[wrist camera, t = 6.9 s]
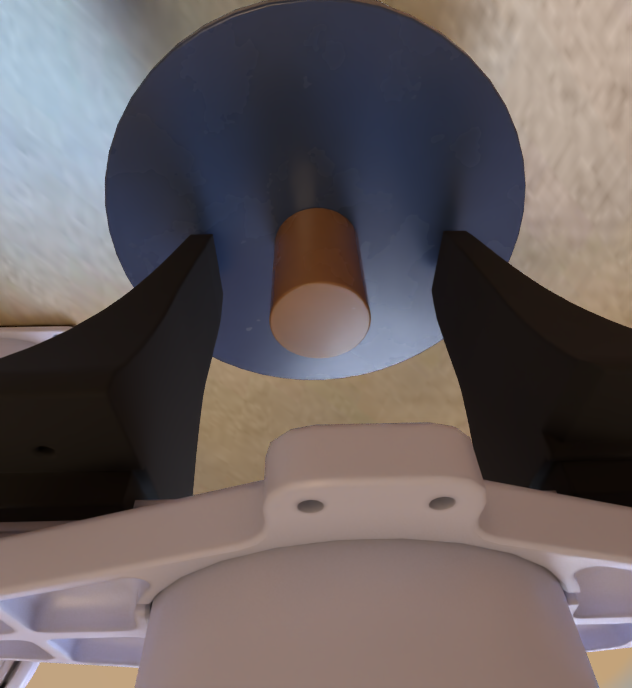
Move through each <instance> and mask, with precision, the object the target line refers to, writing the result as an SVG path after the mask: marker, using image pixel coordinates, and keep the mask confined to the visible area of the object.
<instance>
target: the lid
mask: <svg viewBox="0 0 632 688" xmlns="http://www.w3.org/2000/svg"><path fill="white" fill-rule="evenodd" d="M525 186H526V185H525V172H524V159H523V155H522V151H521V147H520V142H519V138H518V134H517V131H516V128H515V126H514V124H513V121H512V119H511V116H510V114H509V112H508V109H507V107H506V105H505V103H504V102H503V100H502V98H501V97H500V95H499V94H498V92H497V90H496V89H495V87H494V85H493V84H492V82H491V81H490V79H489V78H488V77H487V76H486V75H485V74H484V73H483V71H482V70H481V69H480V68H479V67H478V66H477V65H476V63H475V62H474V61H473V60H472V59H471V58H470V57H469V56H468V55H467V54H466V53H465V52H464V51H463V50H462V49H461V48H459V47H458V46H457V45H456V44H454V43H453V42H452V41H451V40H450V39H448V38H447V37H446V36H445V35H443V34H442V33H441V32H440V31H438V30H436V29H435V28H433V27H431V26H429V25H428V24H426V23H424V22H422V21H421V20H419V19H417V18H415V17H414V16H412V15H410V14H407V13H405V12H402V11H399V10H397V9H394V8H391V7H388V6H386V5H383V4H380V3H378V2H373V1H368V0H266V1H262V2H259V3H256V4H252V5H249V6H246V7H242V8H239V9H236V10H234V11H232V12H230V13H228V14H226V15H223V16H221V17H219V18H217V19H215V20H213V21H211V22H209V23H207V24H205V25H203V26H202V27H201V28H199V29H198V30H196V31H195V32H194V33H192V34H191V35H189V36H188V37H186V38H185V39H184V40H182V41H181V42H179V43H178V44H177V45H176V46H175V47H174V48H173V49H172V50H171V51H170V52H169V53H168V54H167V55H165V56H164V57H163V58H162V59H161V60H160V61H159V62H158V63H157V64H156V65H155V66H154V67H153V69H152V70H151V71H150V72H149V74H148V75H147V76H146V78H145V79H144V80H143V82H142V83H141V85H140V86H139V87H138V89H137V90H136V91H135V93H134V94H133V96H132V97H131V99H130V101H129V103H128V105H127V107H126V109H125V111H124V113H123V115H122V117H121V119H120V121H119V123H118V125H117V128H116V131H115V134H114V138H113V141H112V144H111V147H110V150H109V155H108V162H107V169H106V176H105V207H106V213H107V219H108V226H109V231H110V235H111V238H112V241H113V244H114V248H115V251H116V254H117V256H118V258H119V261H120V263H121V265H122V267H123V269H124V271H125V274H126V276H127V277H128V279H129V280H130V282H131V284H132V285H133V287H136V286H137V285H138V284H139V283H140V282H141V281H143V280H144V279H145V278H146V277H147V276H148V275H150V274H151V273H152V272H153V271H154V270H155V269H156V268H157V267H158V266H159V265H160V264H162V263H163V262H164V261H165V260H166V259H167V258H168V257H169V256H170V255H171V254H172V253H173V252H174V251H175V250H176V249H177V248H178V247H179V246H180V245H181V244H182V243H183V242H184V241H185V240H186V239H187V238H188V237H189V236H190V235H197V234H213V238H214V244H215V250H216V255H217V261H218V267H219V273H220V278H221V284H222V290H223V301H222V312H221V321H220V326H219V331H218V335H217V339H216V343H215V347H214V351H213V355H212V357H214V358H216V359H218V360H220V361H222V362H225V363H228V364H230V365H233V366H236V367H238V368H241V369H244V370H248V371H251V372H255V373H259V374H263V375H268V376H274V377H279V378H288V379H299V380H325V379H337V378H345V377H351V376H357V375H363V374H366V373H370V372H374V371H377V370H381V369H384V368H387V367H390V366H392V365H395V364H398V363H400V362H403V361H405V360H407V359H409V358H411V357H413V356H415V355H417V354H420V353H421V352H423V351H425V350H426V349H428V348H430V347H431V346H433V345H435V344H436V343H438V342H440V341H441V340H442V339H443V336H442V333H441V330H440V327H439V324H438V321H437V318H436V313H435V308H434V303H433V297H432V291H431V289H432V285H433V280H434V275H435V270H436V265H437V260H438V256H439V251H440V246H441V241H442V236H443V231H467V232H468V233H470V234H471V235H473V236H474V237H476V238H477V239H478V240H479V241H481V242H482V243H483V244H485V245H486V246H487V247H488V248H490V249H491V250H492V251H493V252H495V253H496V254H497V255H499V256H500V257H501V258H502V259H504V260H505V261H506V262H508V261H509V260H510V257H511V255H512V252H513V249H514V246H515V244H516V241H517V238H518V235H519V230H520V226H521V221H522V217H523V212H524V200H525Z"/></svg>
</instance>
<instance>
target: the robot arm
mask: <svg viewBox="0 0 632 688" xmlns="http://www.w3.org/2000/svg"><path fill="white" fill-rule="evenodd" d="M431 291H432V297H433V303H434V308H435V313H436V318H437V321H438V324H439V327H440V330H441V333H442V336H443V339H444V342H445V345H446V347H447V350H448V353H449V356H450V359H451V361H452V364H453V367H454V370H455V373H456V375H457V378H458V381H459V385H460V388H461V392H462V396H463V400H464V405H465V409H466V414H467V418H468V423H469V428H470V433H471V438H472V442H471V439H470V438H469V437H468V436H467V435H465V434H464V433H463V432H461V431H460V430H458V429H457V428H456V427H453V426H448V425H442V424H435V423H383V424H335V425H312V426H306V427H301V428H295V429H291V430H289V431H287V432H286V433H284V434H283V435H281V436H280V437H278V438H277V439H275V440H274V441H272V442H271V443H270V446H269V448H268V451H267V454H266V459H265V475H264V480H261V481H257V482H252V483H248V484H243V485H239V486H234V487H229V488H225V489H220V490H216V491H211V492H207V493H202V494H198V495H193V485H194V473H195V462H196V452H197V442H198V433H199V424H200V416H201V408H202V400H203V394H204V389H205V383H206V379H207V375H208V371H209V367H210V363H211V359H212V355H213V351H214V347H215V343H216V339H217V335H218V331H219V326H220V321H221V312H222V301H223V290H222V284H221V278H220V273H219V267H218V261H217V255H216V250H215V244H214V238H213V234H197V235H190V236H189V237H188V238H187V239H186V240H185V241H184V242H183V243H182V244H181V245H180V246H179V247H178V248H177V249H176V250H175V251H174V252H173V253H172V254H171V255H170V256H169V257H168V258H167V259H166V260H165V261H164V262H163V263H162V264H160V265H159V266H158V267H157V268H156V269H155V270H154V271H153V272H152V273H151V274H150V275H148V276H147V277H146V278H145V279H144V280H143V281H141V282H140V283H139V284H138V285H137V286H136V287H134V288H133V289H132V290H131V291H130V292H128V293H127V294H126V295H124V296H123V297H122V298H120V299H119V300H117V301H116V302H114V303H113V304H112V305H110V306H109V307H107V308H106V309H104V310H102V311H101V312H99V313H98V314H96V315H94V316H92V317H90V318H89V319H87V320H85V321H83V322H82V323H80V324H78V325H76V326H75V327H69V326H49V327H0V688H25V687H26V685H27V684H28V682H29V681H30V679H31V677H32V676H33V674H34V673H35V671H36V669H37V667H38V665H39V664H40V662H49V663H66V664H84V665H102V666H119V667H137V668H139V670H138V675H137V679H136V684H135V688H599V686H598V683H597V680H596V678H595V675H594V672H593V670H592V667H591V664H590V662H589V659H588V656H587V654H586V652H594V651H602V650H611V649H620V648H629V647H632V328H629V327H626V326H623V325H621V324H618V323H615V322H613V321H610V320H608V319H605V318H603V317H601V316H599V315H596V314H594V313H592V312H590V311H587V310H585V309H583V308H581V307H579V306H577V305H575V304H573V303H571V302H569V301H567V300H565V299H564V298H562V297H560V296H558V295H556V294H554V293H553V292H551V291H549V290H547V289H546V288H544V287H543V286H541V285H539V284H538V283H536V282H535V281H533V280H532V279H530V278H529V277H527V276H526V275H524V274H523V273H521V272H520V271H519V270H517V269H516V268H514V267H513V266H512V265H510V264H509V263H508V262H506V261H505V260H504V259H502V258H501V257H500V256H499V255H497V254H496V253H495V252H493V251H492V250H491V249H490V248H488V247H487V246H486V245H485V244H483V243H482V242H481V241H479V240H478V239H477V238H476V237H474V236H473V235H471V234H470V233H468V232H467V231H443V236H442V241H441V246H440V251H439V256H438V260H437V265H436V270H435V275H434V280H433V285H432V289H431ZM57 334H58V335H57ZM472 443H473V445H472ZM473 448H474V449H473Z"/></svg>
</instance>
